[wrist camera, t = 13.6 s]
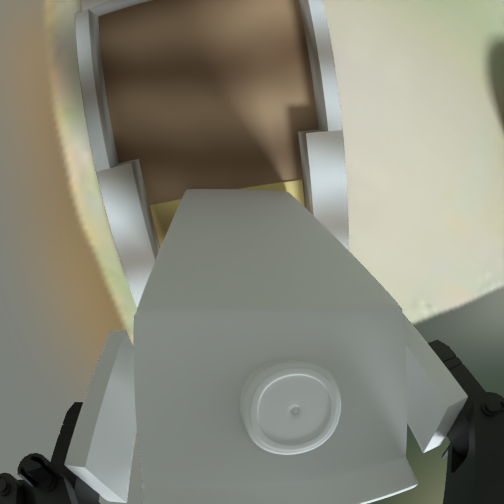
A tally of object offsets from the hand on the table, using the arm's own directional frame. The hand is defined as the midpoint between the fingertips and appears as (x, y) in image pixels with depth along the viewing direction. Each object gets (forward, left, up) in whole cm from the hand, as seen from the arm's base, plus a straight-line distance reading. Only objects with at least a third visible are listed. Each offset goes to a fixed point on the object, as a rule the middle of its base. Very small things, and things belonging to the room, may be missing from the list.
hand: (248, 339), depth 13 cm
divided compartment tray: (-5, -5, -12) cm, 14 cm away
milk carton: (0, 0, -11) cm, 11 cm away
